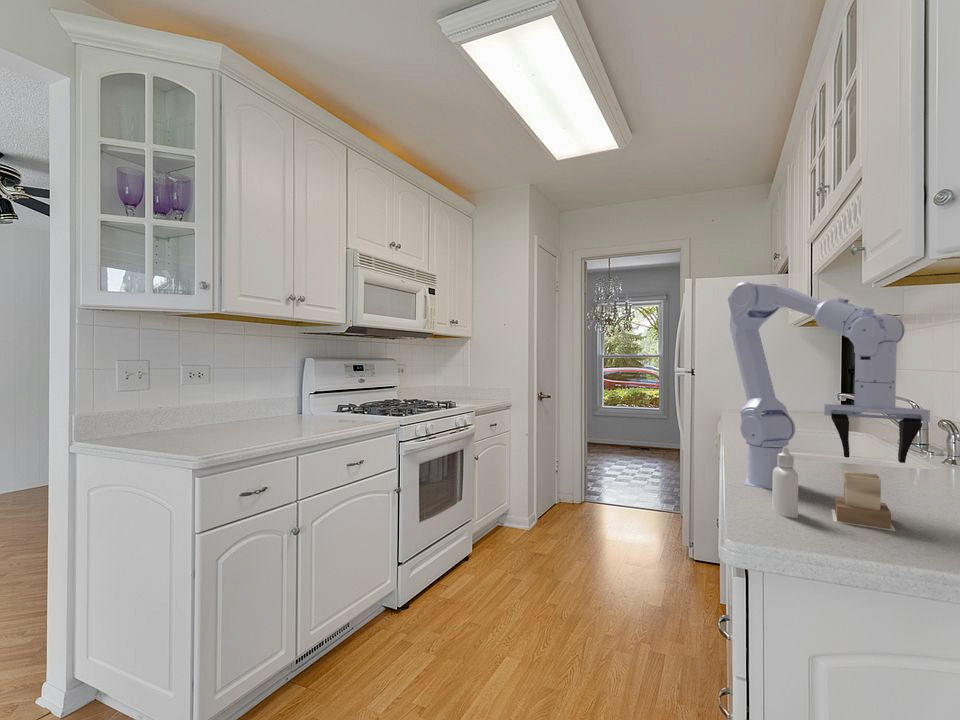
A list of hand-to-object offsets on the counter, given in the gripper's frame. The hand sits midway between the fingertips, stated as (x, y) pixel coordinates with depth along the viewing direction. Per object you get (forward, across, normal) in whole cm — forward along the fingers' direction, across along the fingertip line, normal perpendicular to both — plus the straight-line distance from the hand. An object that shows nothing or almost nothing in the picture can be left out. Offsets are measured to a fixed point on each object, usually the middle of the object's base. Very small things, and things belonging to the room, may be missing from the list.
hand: (873, 459), depth 89 cm
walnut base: (+9, -2, -6) cm, 11 cm away
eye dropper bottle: (+10, -13, -9) cm, 19 cm away
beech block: (+7, -2, -6) cm, 9 cm away
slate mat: (+10, -4, -4) cm, 12 cm away
